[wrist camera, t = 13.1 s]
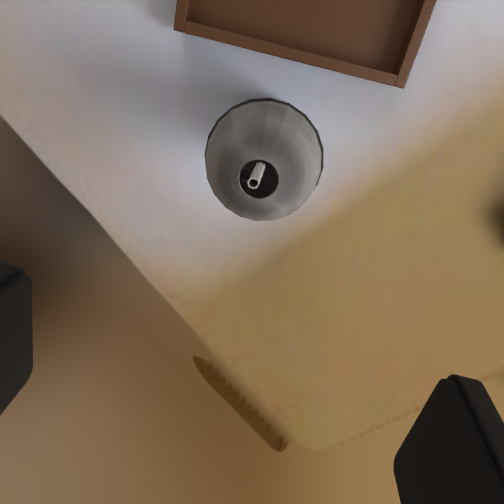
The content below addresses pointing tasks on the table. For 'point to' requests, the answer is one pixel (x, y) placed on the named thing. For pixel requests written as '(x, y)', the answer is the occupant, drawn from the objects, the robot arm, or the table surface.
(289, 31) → the tray
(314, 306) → the table surface
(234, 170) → the beverage cup
